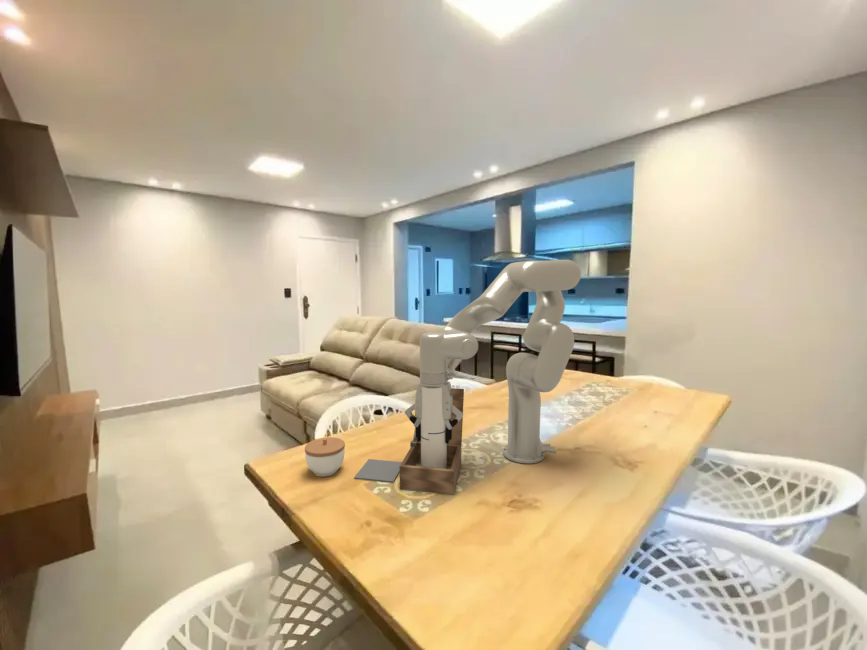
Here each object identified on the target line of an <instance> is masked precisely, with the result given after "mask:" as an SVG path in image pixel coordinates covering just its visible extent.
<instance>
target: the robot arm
mask: <svg viewBox="0 0 867 650" xmlns="http://www.w3.org/2000/svg"><path fill="white" fill-rule="evenodd" d="M581 272H582V271H581V268H580V266H579V265H578V264H577V262H575V261H574V260H572V259H571V260H570V259H553V260H549V259H548V260H524V261H515V262H511V263H509V264H508V265H506V266H505V267H504V268H503V269H502V270H501V271H500V273H498V275H497V276H496V277H495V278H494V280H493V281H492V282H491V283H490V284H489V286H488V287H487V288H486V289H485V290H484V291H483V293H482V294H480V295H479V296H478V297H477V298H476V299H475V300H473V301H472V302H470V303H469V304H468V305H467V306H465V307H464V308H462V309H461V310H460V311H459V312H458V313H456V314H455V315H454V316H453V317H452V319H450V320H449V322H448V323H447V324H446V325H445V327H444V328H443V329H442V330H441V332H440V331H429V332H424V333H422V334H421V335H420V336H419V381H417V384H416V390H415V398H414V403H413V404H412V405H410V406H409V407H407V409H405V411H404V414H405V415H406V417H407V418H408V420H409V421H410V422H411V423H412V424H413V426H414V428H415V427H416V437H417V441H421V418H422V387H438V388H442V415H443V420H445V424H446V426H447V428H446V444H448V443H449V440H451V439H452V428H453V427H454V426H455V425H456V424H457V423H458V422H459V421H460V419H461V418H462V417H463V418H464V412H463V413H462V412H461V411H460V410H458V409H457V408H456V407H455V406H454V405H453V398H452V388H453V387H452V385H451V381H449V380H453V379H454V375H453V374H452V373H451V374H450V372H449V370H448V359H451V360H452V359H453V360H469V359H471V358H472V357H474V356H475V355H476V354H477V352H478V350H479V342H478V341H479V340H477V338H476V337H475V336H474V335H473V334H471V333H472V332H474V331H475V330H476V329H477V328H479V327H481V326H483V325H485V324H487V323H490V322H493V321H496V320H498V319H500V318H502V317H504V315H505V314H506V313H507V312H508V310H509V309H510V308H511V306H512V305H513V304H514V303H515V302H516V301H517V299H518V298H519V297H520V296H521V295H522V294H523V293H526V292H529V293H533V292H535V295H536V303H535V307H534V310H533V312H532V315H531V316H530V319H529V321H528V324H527V327H526V328H525V331H524V334H523V343H524V344H523V345H525V346H526V347H527V349H530V350H531V351H535V352H537V353H539V354H538V355H536V354H532V353H528V352H518V353H515V354H513V355H512V356H510V357H509V359H508V361H507V362H506V366H505V372H506V373H505V375H506V380H507V381H506V382H507V386H508V387H507V388H508V405H507V406H508V407H507V408H508V409H507V412H508V414H507V415H508V416H507V444H506V445H504V446H503V448H502V455H503V456H504V457H505V458H506V459H508V460H510V461H512V462H515V463H519V464H528V465H529V464H536V463H540V462H542V461H543V460H544V459H545V454H546V453H550V454H556V451H557V450H556V446H553V445H551V443H548V442H547V443H545V442H544V443H543V442H542V441H541V410H542V409H541V406H542V400H541V393H549V392H551V391H553V390H554V389H555V388H557V386H558V385H559V383H560V381H561V379H562V377H563V374H564V372H565V369H566V368H567V365H568V362H569V360H570V357H571V355H572V352H573V349H574V346H575V336H574V332H573V330H572V329H571V328H570V326H568V325H567V324H564V323H562V322H561V321H562V318H563V317H564V313H565V310H566V309H565V308H566V303H565V299H564V296H563V293H562V291H568V290H571V289H573V288H575V287H576V286H577V285H578V284H579V282H580V280H581V277H582V276H581V275H582V273H581ZM413 411H414V414H413ZM453 413H454V414H455V415H456V418H454V419H453V420H451V415H452V414H453ZM416 417H417V418H416Z"/></svg>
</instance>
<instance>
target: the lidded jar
mask: <svg viewBox="0 0 867 650" xmlns="http://www.w3.org/2000/svg"><path fill="white" fill-rule="evenodd" d="M345 446H346V443H345V441H344V440H343V439H341V438H338V437H332V436H330V437H321V438H316V439H313V440H311V441H309V442H308V443H306V445H305V447H304V452H305V462H306V465H307V467H308V469H309V470H310V471H311V472H312V473H314V475H315V476H317V477H321V478H322V477H329V476H332V475H334V474H336V472H337V471H338V470H339V469H340V468H341V466H342V464H343V462H344V459H345Z"/></svg>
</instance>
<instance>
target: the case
mask: <svg viewBox="0 0 867 650" xmlns="http://www.w3.org/2000/svg"><path fill="white" fill-rule="evenodd" d="M451 388H452V398H453V405H454V406H455V407H456V408H457V409H458V410H460V411H461V412H462V413H463V414H464V401H465V399H464V397H465V389H464V388H453V387H451ZM415 417H416V416H415ZM416 418H417V417H416ZM454 418H456V415H455V414H454V413H453V414H452V415H451V420H453V419H454ZM463 418H464V416H463V417H462V418H461V419H460V421H459V422H458V423H457V424H456V425H455V426H454V427H453V428H452V439H451V440H449V443H448V444H447V466H451V467H450V468H447V469H442V468H432V467H421V465H418V466H417V464H418V463H420V464H421V441H417V437H416V427H415V426H414V432H413V439H412V440H411V441H410V444H409V445H410V447H409V450H408V451H407V453H406V455H405V456H404V458H403V460H402V461H401V462H402V463H401V465H400V466H399V469H400V472H399V489H400V490H406V491H407V490H409V491H417V492H428V493H437V494H444V495H445V494H446V495H455V493H456V492H455V491H456V489H457V488H456V487H457V484H458V483H457V482H458V480H459V475H460V471H461V468H462V445H463V442H462V441H463V440H462V439H463V422H464V421H463V420H464V419H463Z"/></svg>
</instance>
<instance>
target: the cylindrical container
mask: <svg viewBox="0 0 867 650" xmlns="http://www.w3.org/2000/svg"><path fill="white" fill-rule="evenodd" d="M446 428H447V426H446V424H445V420H443V415H442V388H438V387H422V418H421V463H420V466H421V467H432V468H442V469H448V467H447V466H448V465H447V444H446Z"/></svg>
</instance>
